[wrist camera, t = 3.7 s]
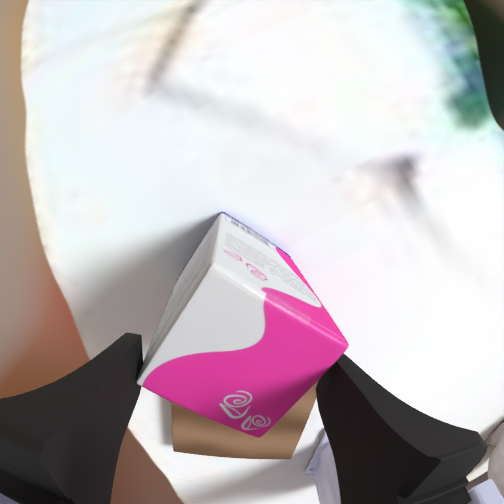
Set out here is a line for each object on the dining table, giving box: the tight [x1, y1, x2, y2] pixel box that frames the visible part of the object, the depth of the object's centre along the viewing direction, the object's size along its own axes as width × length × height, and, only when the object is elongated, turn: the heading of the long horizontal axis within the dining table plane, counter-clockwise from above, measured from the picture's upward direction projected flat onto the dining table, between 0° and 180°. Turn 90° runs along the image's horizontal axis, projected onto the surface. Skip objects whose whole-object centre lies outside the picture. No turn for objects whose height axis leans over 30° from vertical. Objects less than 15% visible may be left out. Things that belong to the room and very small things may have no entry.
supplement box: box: [137, 212, 349, 438], centre depth 15 cm, size 6×6×12 cm
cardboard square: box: [172, 381, 318, 459], centre depth 25 cm, size 12×12×2 cm
